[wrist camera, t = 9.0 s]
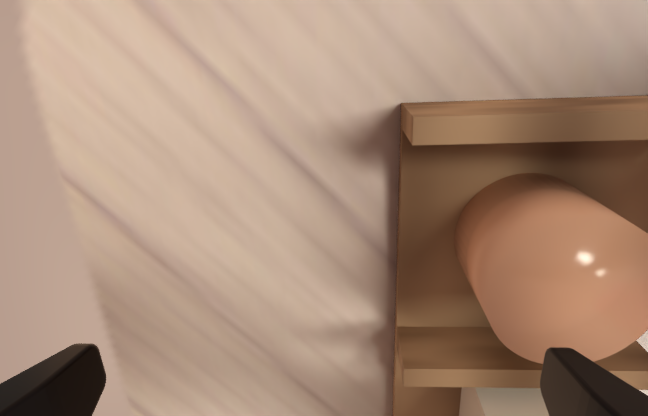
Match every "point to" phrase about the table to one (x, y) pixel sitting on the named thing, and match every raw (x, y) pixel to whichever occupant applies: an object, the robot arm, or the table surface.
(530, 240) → the peach rounded capsule
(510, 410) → the cream rectangular block
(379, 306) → the table surface
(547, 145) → the rack
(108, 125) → the table surface
